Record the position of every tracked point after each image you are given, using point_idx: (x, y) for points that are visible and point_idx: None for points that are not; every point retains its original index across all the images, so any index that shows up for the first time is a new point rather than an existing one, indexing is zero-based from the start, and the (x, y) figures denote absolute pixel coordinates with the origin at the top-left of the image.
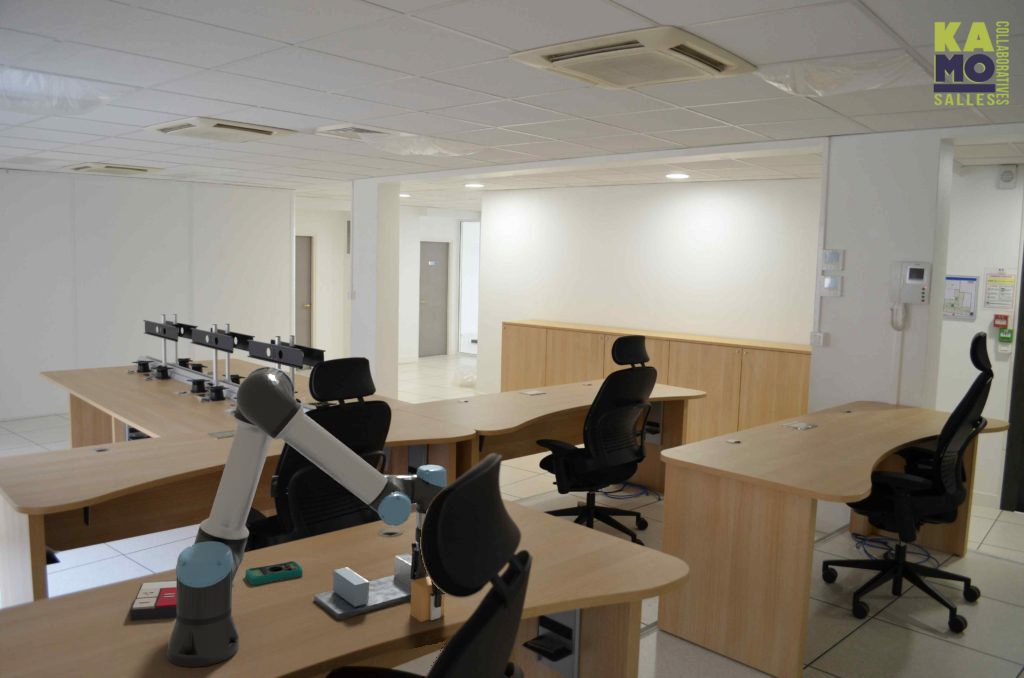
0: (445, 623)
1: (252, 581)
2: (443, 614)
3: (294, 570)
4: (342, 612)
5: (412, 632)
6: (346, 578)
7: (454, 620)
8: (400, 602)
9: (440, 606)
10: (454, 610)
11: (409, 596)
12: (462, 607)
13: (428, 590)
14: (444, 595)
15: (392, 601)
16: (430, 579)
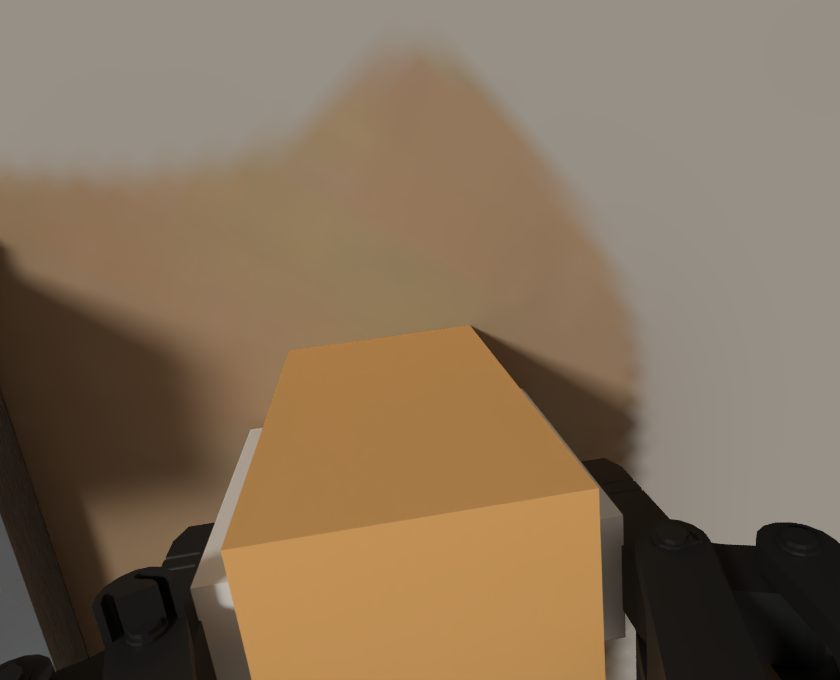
0: (618, 384)
1: None
2: (469, 329)
3: None
4: None
5: (607, 647)
6: None
7: (613, 290)
8: (58, 567)
9: (608, 466)
10: (434, 187)
11: (9, 499)
12: (411, 71)
13: None
14: (522, 392)
15: (69, 662)
16: (395, 676)
